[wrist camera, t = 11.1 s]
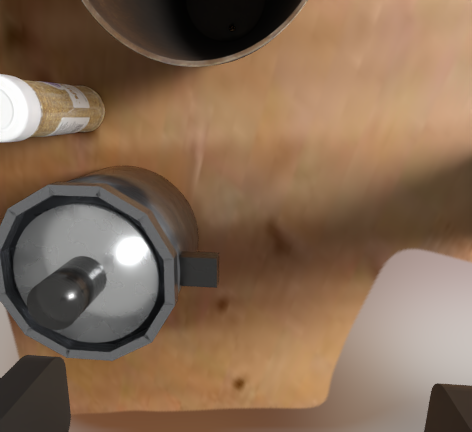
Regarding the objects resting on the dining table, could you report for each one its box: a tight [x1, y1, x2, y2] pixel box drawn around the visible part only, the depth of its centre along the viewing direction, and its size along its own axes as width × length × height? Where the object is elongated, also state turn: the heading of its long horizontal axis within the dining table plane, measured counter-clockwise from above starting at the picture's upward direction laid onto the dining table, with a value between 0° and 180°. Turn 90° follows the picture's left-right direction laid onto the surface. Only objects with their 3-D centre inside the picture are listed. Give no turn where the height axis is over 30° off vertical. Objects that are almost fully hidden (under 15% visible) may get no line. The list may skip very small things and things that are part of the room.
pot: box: [0, 166, 219, 361], centre depth 37 cm, size 21×15×11 cm
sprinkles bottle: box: [0, 74, 105, 142], centre depth 33 cm, size 5×5×14 cm
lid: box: [13, 202, 161, 343], centre depth 30 cm, size 12×12×6 cm
